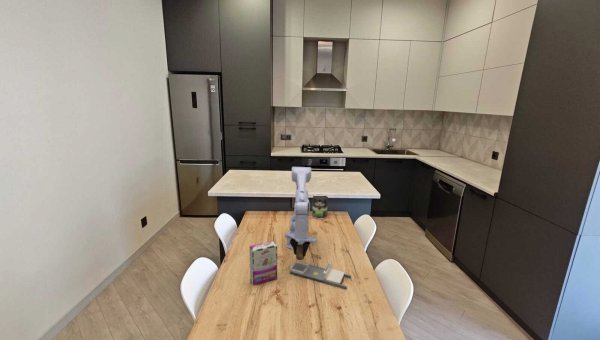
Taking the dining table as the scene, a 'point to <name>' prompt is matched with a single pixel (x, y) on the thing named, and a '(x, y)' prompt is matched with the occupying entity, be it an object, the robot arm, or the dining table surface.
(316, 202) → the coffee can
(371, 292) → the dining table surface
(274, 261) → the candy bar box
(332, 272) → the cover
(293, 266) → the board
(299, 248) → the peg
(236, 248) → the dining table surface
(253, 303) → the dining table surface
